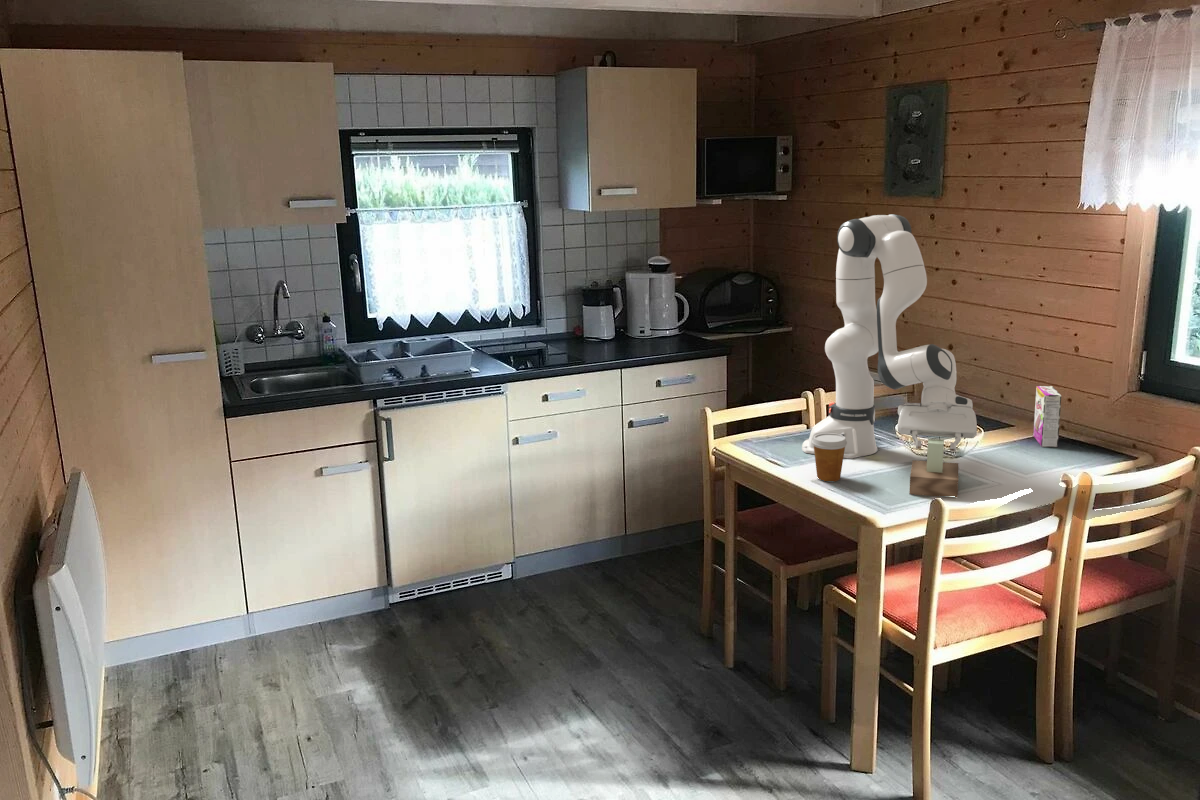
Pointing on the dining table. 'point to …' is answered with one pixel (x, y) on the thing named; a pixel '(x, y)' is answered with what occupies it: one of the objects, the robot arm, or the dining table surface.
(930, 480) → the walnut plinth
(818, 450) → the disposable coffee cup
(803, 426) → the dining table surface
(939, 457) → the sage block
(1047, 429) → the candy bar box
